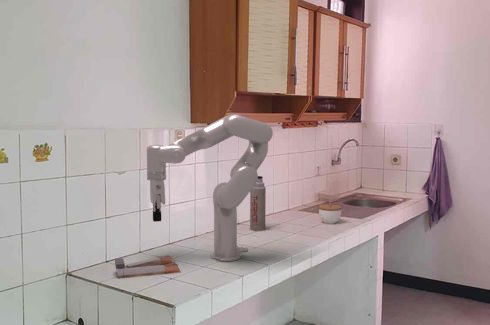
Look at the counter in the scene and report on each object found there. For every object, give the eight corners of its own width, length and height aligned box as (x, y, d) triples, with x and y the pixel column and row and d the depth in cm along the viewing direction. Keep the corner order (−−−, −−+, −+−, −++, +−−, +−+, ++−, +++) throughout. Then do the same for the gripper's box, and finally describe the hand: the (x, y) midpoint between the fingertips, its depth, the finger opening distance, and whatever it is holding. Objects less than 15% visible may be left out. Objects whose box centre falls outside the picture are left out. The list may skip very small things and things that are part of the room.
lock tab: (123, 262, 188) (123, 258, 187) (124, 268, 181) (124, 263, 180) (114, 263, 187) (114, 258, 186) (116, 268, 180) (116, 264, 179)
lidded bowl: (314, 221, 282) (314, 202, 281) (332, 219, 287) (332, 200, 286) (326, 225, 271) (327, 205, 270) (345, 223, 276) (346, 204, 275)
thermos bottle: (257, 231, 256) (258, 177, 253) (246, 229, 262) (247, 176, 259) (268, 229, 262) (268, 176, 259) (257, 226, 267) (257, 175, 265)
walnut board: (174, 264, 200) (174, 261, 200) (181, 275, 186) (181, 272, 186) (115, 269, 193) (115, 266, 193) (118, 281, 179) (117, 278, 179)
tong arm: (167, 260, 201) (167, 255, 200) (172, 262, 199) (172, 256, 198) (125, 270, 188) (125, 264, 188) (129, 272, 186) (129, 266, 185)
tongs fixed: (174, 266, 194) (174, 258, 194) (178, 271, 187) (178, 263, 187) (116, 271, 187) (116, 263, 187) (117, 277, 181) (117, 269, 180)
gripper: (168, 177, 194) (169, 224, 196) (163, 173, 208) (163, 216, 210) (149, 178, 192) (150, 225, 194) (144, 174, 206) (145, 217, 208)
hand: (157, 220), depth 202 cm, fingers closed
